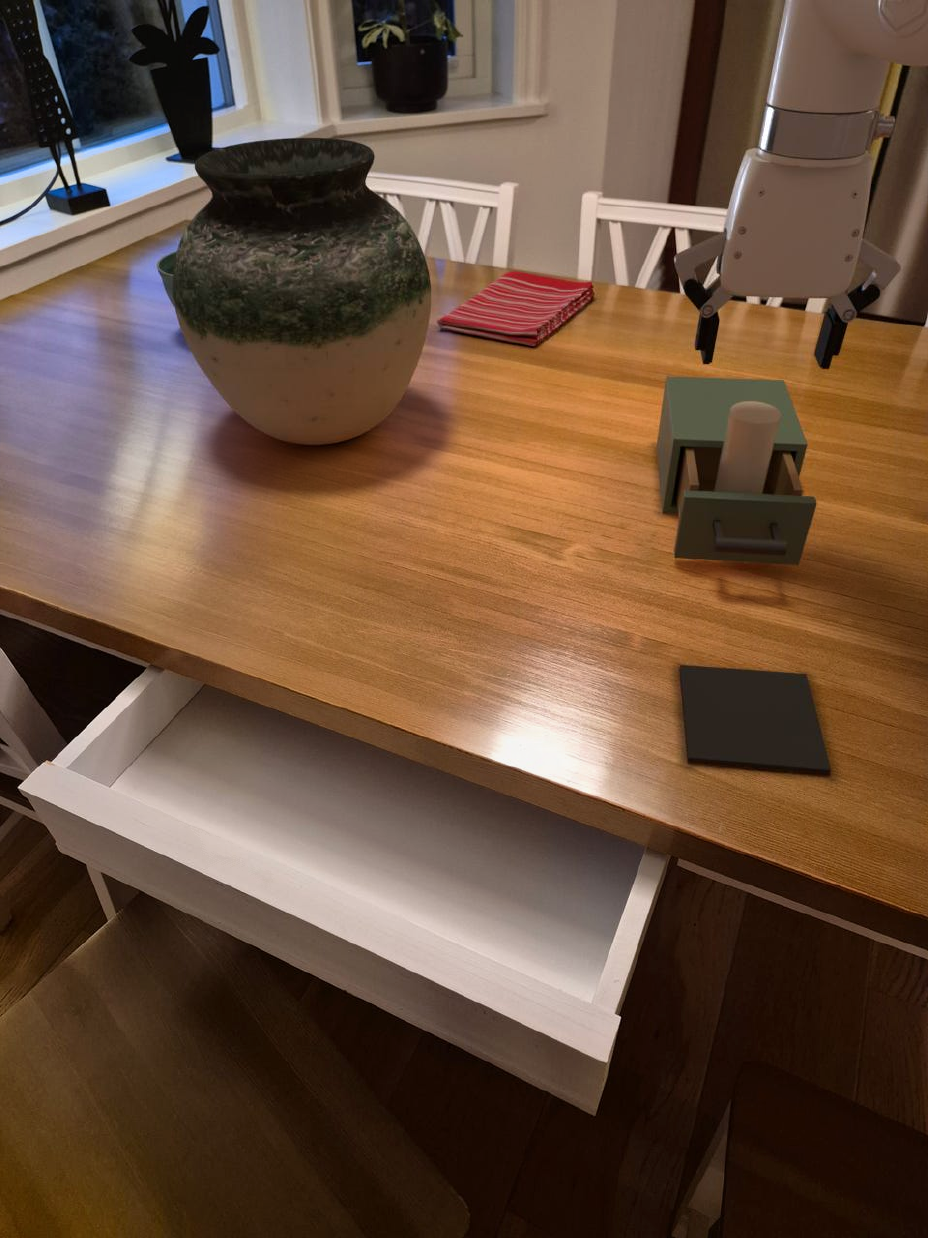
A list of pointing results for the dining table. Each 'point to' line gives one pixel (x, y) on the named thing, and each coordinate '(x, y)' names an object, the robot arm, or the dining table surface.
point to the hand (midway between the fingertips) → (762, 360)
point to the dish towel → (519, 308)
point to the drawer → (740, 512)
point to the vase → (301, 289)
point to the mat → (751, 720)
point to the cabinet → (716, 421)
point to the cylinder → (747, 447)
